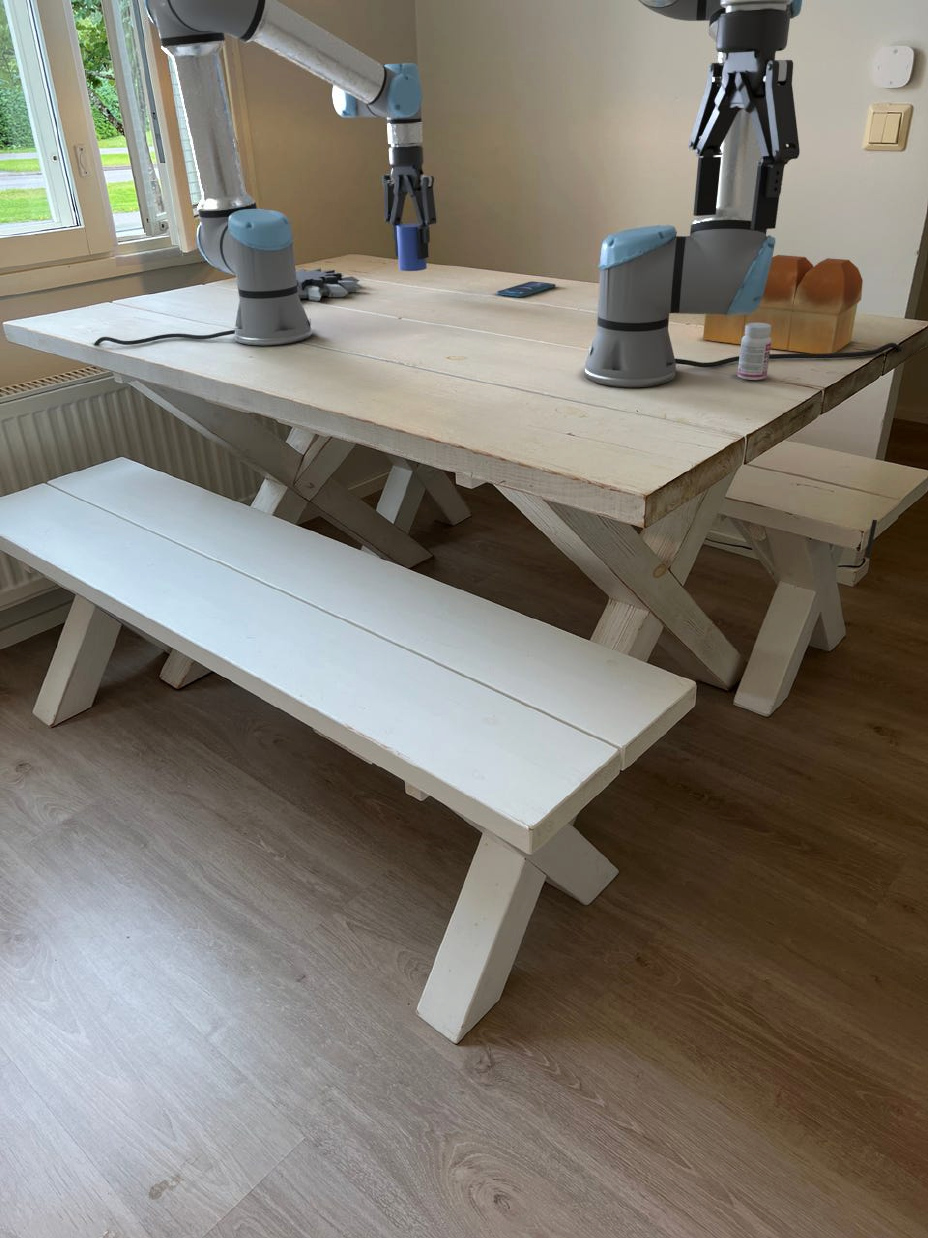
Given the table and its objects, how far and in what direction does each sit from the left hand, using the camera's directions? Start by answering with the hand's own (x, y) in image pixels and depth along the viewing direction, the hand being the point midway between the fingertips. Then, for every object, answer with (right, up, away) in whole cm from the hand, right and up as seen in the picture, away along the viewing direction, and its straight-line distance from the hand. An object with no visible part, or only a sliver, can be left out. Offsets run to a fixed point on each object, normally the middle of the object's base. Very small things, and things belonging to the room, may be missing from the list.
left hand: (411, 256), depth 217 cm
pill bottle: (+60, -43, -60) cm, 95 cm away
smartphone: (+27, -5, +8) cm, 29 cm away
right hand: (+44, -36, -105) cm, 119 cm away
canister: (0, -2, +1) cm, 3 cm away
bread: (+71, -31, -40) cm, 87 cm away
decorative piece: (-27, -4, +14) cm, 31 cm away
